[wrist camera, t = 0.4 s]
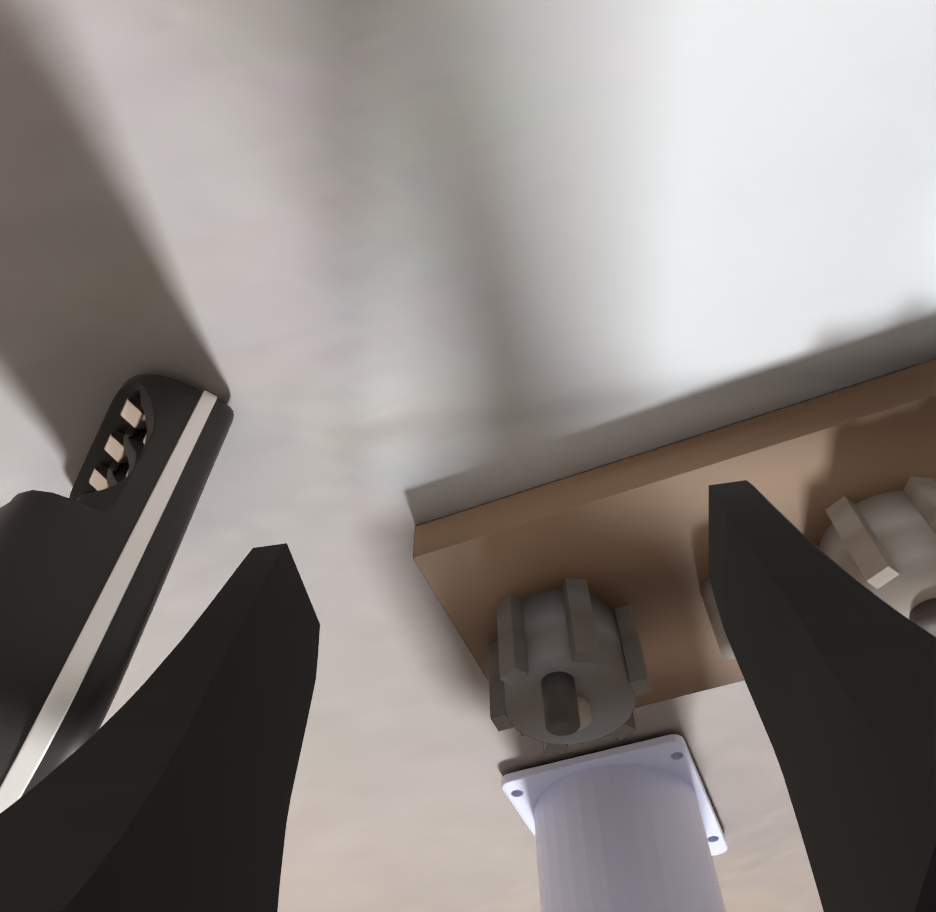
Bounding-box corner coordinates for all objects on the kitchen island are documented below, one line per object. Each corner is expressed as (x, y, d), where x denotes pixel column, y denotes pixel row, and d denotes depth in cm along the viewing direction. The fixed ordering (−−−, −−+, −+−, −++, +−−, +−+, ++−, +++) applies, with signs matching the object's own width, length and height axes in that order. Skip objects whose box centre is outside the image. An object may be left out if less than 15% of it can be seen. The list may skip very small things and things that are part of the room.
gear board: (974, 584, 28) (1083, 732, 23) (520, 702, 32) (530, 852, 27) (962, 350, 22) (1101, 479, 18) (415, 526, 26) (404, 673, 21)
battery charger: (116, 333, 22) (-135, 661, 13) (244, 397, 23) (101, 738, 14) (45, 499, 25) (-195, 852, 16) (159, 547, 27) (-2, 901, 17)
